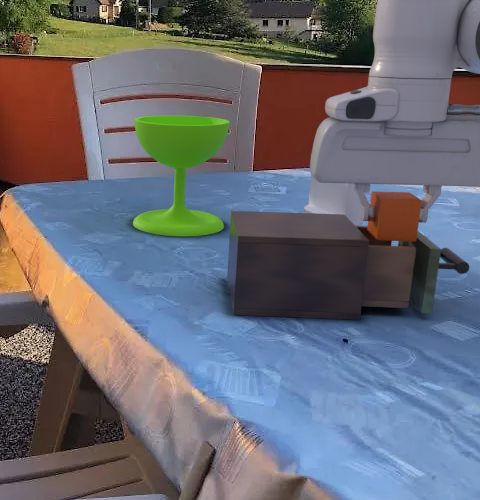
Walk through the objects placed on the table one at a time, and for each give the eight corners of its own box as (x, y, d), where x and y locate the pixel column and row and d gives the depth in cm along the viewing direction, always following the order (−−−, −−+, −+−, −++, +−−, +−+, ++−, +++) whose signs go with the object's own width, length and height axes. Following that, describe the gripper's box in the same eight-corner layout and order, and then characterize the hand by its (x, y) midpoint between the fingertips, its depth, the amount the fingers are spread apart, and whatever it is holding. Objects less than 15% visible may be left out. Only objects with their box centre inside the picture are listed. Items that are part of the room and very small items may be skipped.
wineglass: (205, 241, 114) (211, 128, 108) (116, 228, 120) (117, 121, 115) (236, 220, 127) (242, 119, 122) (154, 210, 134) (157, 113, 129)
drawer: (438, 283, 93) (446, 225, 90) (472, 315, 82) (482, 250, 79) (298, 278, 94) (303, 220, 91) (313, 309, 83) (320, 244, 80)
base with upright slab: (372, 251, 110) (381, 174, 107) (326, 257, 106) (334, 178, 103) (332, 236, 118) (340, 165, 114) (289, 242, 114) (295, 168, 110)
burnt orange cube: (404, 231, 87) (409, 192, 86) (416, 241, 83) (421, 200, 82) (366, 230, 88) (371, 191, 86) (376, 240, 83) (381, 198, 82)
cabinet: (337, 284, 94) (344, 214, 91) (360, 320, 82) (369, 240, 79) (226, 280, 95) (230, 210, 92) (233, 315, 83) (238, 235, 80)
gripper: (488, 103, 83) (471, 217, 87) (312, 99, 85) (303, 212, 88) (511, 107, 77) (492, 229, 81) (322, 103, 79) (312, 224, 82)
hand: (392, 220), depth 85 cm, fingers closed on burnt orange cube, 4 cm apart
